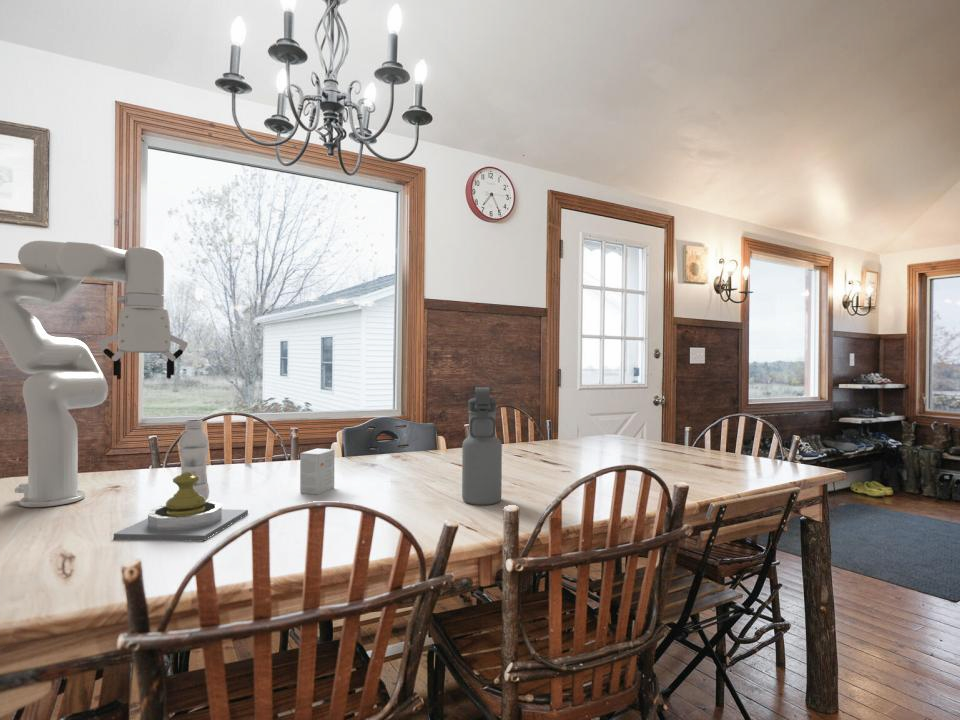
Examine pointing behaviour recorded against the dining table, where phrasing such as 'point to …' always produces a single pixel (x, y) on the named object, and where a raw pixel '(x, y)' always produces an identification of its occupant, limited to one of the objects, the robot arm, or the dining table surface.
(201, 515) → the steel ring
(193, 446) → the plastic bottle
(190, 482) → the olive turned piece
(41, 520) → the dining table surface
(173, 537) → the seat board
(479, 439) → the water bottle
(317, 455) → the small box
